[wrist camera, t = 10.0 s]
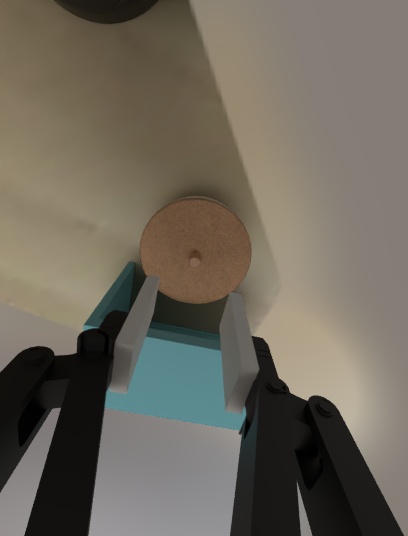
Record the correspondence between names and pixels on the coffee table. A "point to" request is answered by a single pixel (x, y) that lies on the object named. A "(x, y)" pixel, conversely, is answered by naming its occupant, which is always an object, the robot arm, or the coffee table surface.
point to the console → (170, 368)
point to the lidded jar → (196, 250)
